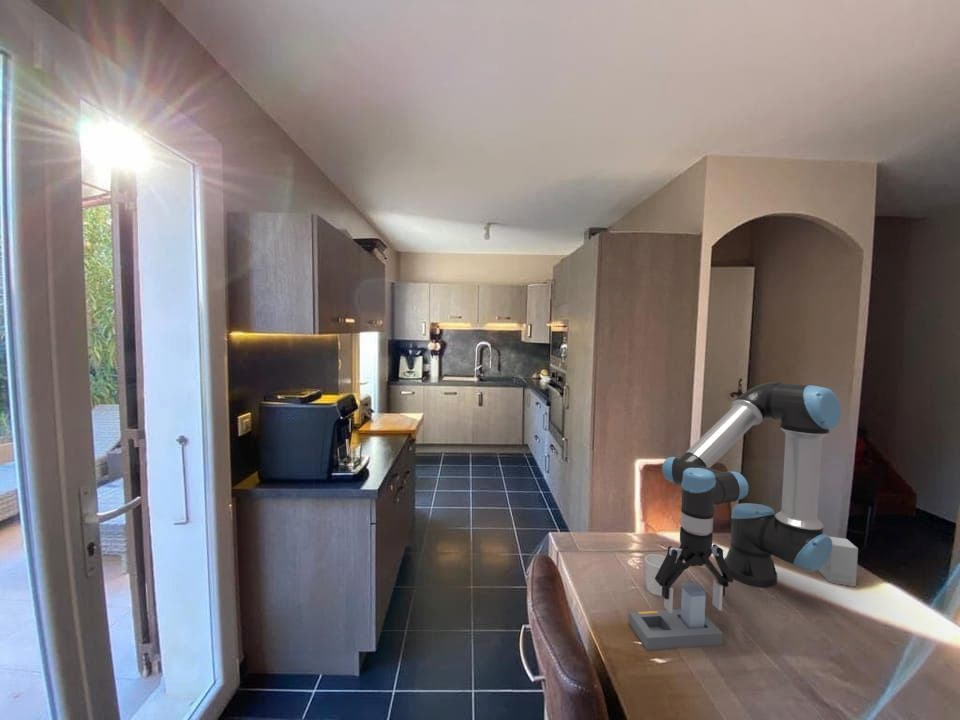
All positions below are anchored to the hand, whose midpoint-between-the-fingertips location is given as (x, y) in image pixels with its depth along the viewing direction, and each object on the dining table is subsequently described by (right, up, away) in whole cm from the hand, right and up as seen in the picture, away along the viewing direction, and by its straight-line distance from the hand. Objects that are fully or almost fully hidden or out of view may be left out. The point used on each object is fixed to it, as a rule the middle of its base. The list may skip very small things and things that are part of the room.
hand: (692, 608), depth 111 cm
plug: (0, -6, 0) cm, 6 cm away
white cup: (-1, -7, +19) cm, 20 cm away
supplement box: (+61, -7, +28) cm, 68 cm away
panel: (-5, -7, 0) cm, 9 cm away
